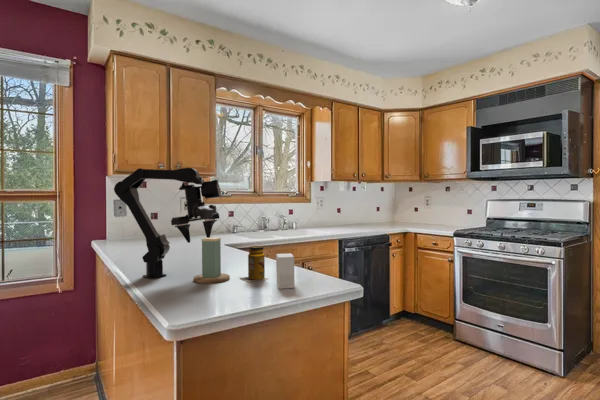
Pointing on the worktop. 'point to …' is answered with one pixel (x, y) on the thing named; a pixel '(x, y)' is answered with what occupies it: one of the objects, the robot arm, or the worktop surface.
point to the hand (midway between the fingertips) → (199, 240)
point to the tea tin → (211, 257)
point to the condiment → (255, 264)
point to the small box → (285, 271)
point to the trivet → (211, 279)
